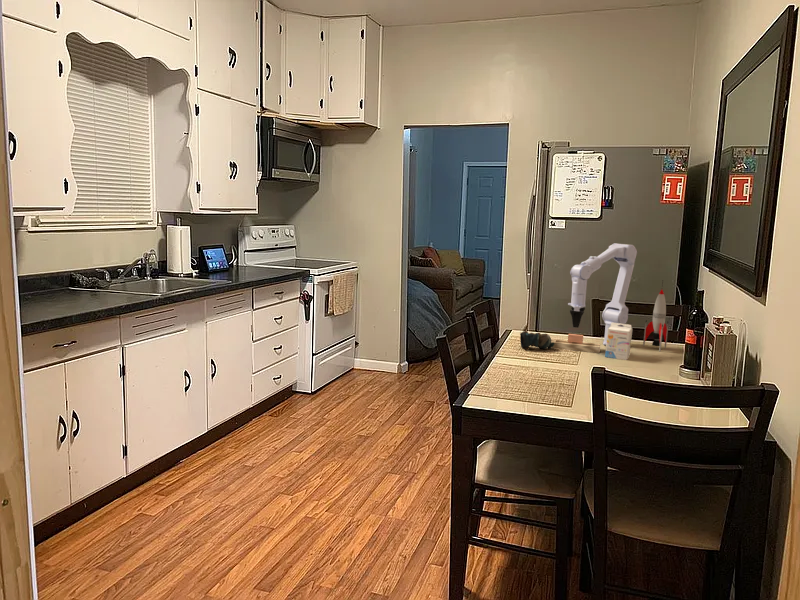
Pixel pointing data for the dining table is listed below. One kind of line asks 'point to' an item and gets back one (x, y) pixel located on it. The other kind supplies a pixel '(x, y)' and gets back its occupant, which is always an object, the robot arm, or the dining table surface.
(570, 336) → the tall salmon pink block
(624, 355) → the ink box
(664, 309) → the toy
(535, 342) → the figurine
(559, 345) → the rail
